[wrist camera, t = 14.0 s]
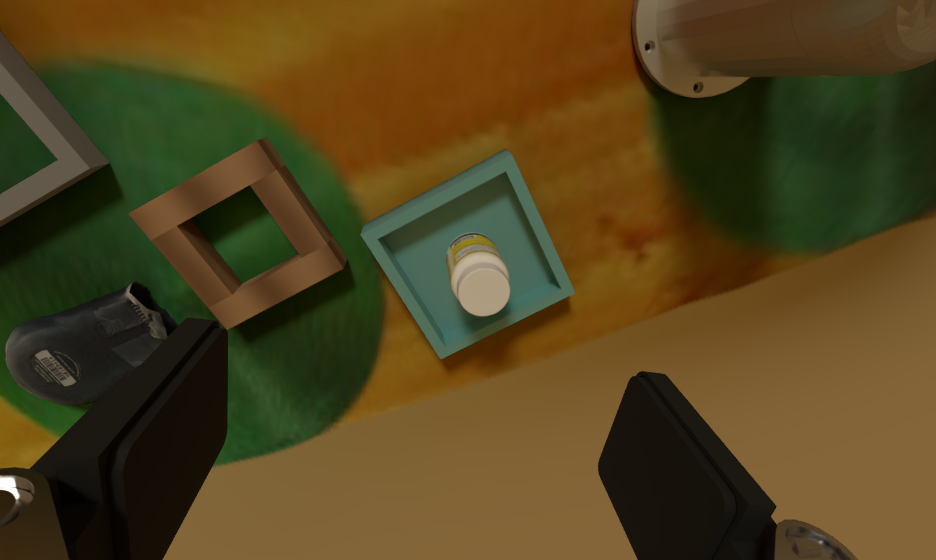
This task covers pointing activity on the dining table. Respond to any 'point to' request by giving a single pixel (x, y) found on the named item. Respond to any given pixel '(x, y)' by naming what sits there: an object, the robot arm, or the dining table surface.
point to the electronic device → (87, 346)
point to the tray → (440, 222)
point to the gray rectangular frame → (43, 136)
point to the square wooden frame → (204, 265)
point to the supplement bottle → (478, 274)
